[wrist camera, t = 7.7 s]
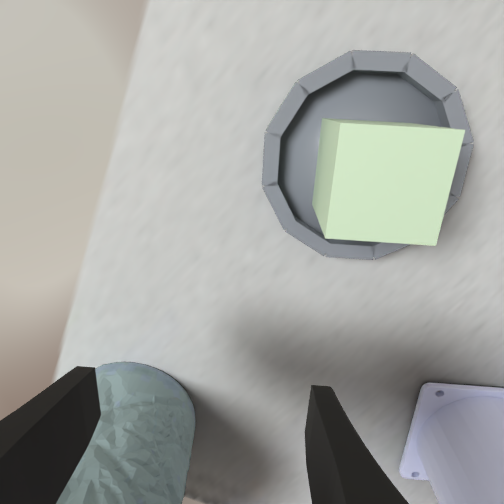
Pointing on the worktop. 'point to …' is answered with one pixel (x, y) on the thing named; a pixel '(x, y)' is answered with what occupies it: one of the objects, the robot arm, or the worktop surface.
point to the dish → (352, 108)
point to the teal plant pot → (135, 440)
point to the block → (384, 180)
